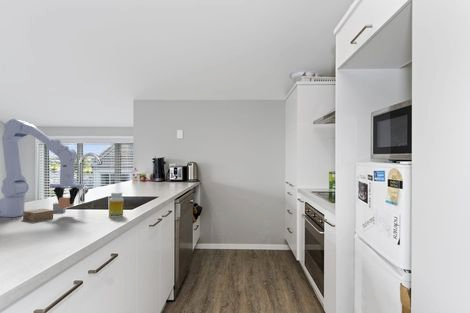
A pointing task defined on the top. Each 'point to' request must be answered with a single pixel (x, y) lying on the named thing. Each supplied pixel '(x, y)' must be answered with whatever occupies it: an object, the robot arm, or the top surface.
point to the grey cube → (56, 209)
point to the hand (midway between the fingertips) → (66, 203)
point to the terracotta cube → (65, 202)
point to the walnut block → (37, 215)
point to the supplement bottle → (116, 205)
